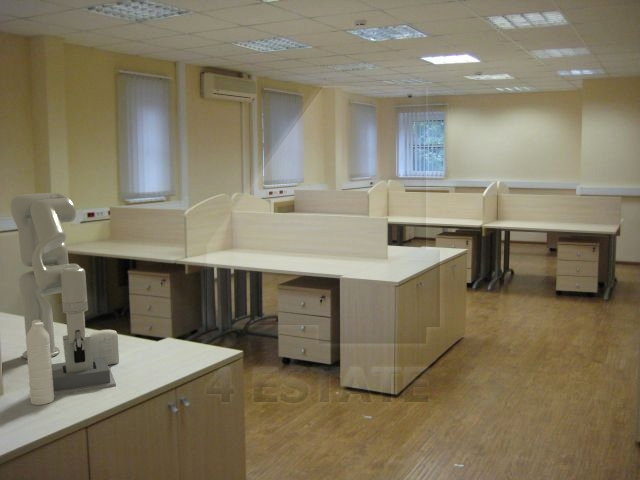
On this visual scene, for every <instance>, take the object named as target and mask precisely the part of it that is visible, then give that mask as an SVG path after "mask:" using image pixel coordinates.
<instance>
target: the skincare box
mask: <svg viewBox="0 0 640 480" xmlns="http://www.w3.org/2000/svg"><path fill="white" fill-rule="evenodd" d="M89 334H90V333H89V332H88V331H87V332H86V331H85V342H83V346H84V349H85V362H81V363H75V362H74V342H73V343H71V344H70V343H69V339H68V334H67V335H62V343H63V345H62V346H63V353H64V362H65V363H66V372H67V373H69V372H76V371H83V370H90V369H93V360H92V349H91V337H90V335H89ZM76 341H77V340H76Z"/></svg>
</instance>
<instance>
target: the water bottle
mask: <svg viewBox="0 0 640 480" xmlns="http://www.w3.org/2000/svg"><path fill="white" fill-rule="evenodd" d="M43 326H44V323H43V322H41V320H33V321H32V327H31V329H30V330H29V332H28V333H27V335H26V334H25V344H26V351H27V356H28V357H27V358H28V359H27V368H28V380H29V382H28V383H29V394H30V403H31V404H32V405H35V406H41V405H47V404H50V403H52V402H53V401H54V400H55V396H54V392H53V390H54V388H53V380H52V379H53V375H52V367H51V366H52V364H53V363H52V357H51V351H50V336H49V333H48V332H47V331H46V329H45V328H44V327H43Z"/></svg>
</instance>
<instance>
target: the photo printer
mask: <svg viewBox="0 0 640 480" xmlns="http://www.w3.org/2000/svg"><path fill="white" fill-rule="evenodd" d="M89 335H90V337H91V349H92V359H94V358H101V357H105V360H106V362H107V365H108V366H110V365H116V364H119V363H120V353H119V352H120V351H119V335H118V332H117V331H116V330H113V329H101V330H97V331H93V332H91V333H89Z"/></svg>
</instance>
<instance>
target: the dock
mask: <svg viewBox="0 0 640 480" xmlns="http://www.w3.org/2000/svg"><path fill="white" fill-rule="evenodd" d="M92 360H93V369H90V370H83V371H76V372H69V373H67V372H66V363H65V361H64V362H59V363H52V366H51V367H52V375H53V379H52V380H53V388H54V390H53V392H54V397H55V396H60V395H66V394H73V393H80V392H85V391H86V392H87V391H91V390H92V391H93V390H99V389H105V388H106V389H107V388H110V387H111V388H112V387H116V386H117V383H116V381H115V378H114V375H113V372H112V370H111V368H110V366H109V365H107V362H106V360H105V357H101V358H94V359H92Z"/></svg>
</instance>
